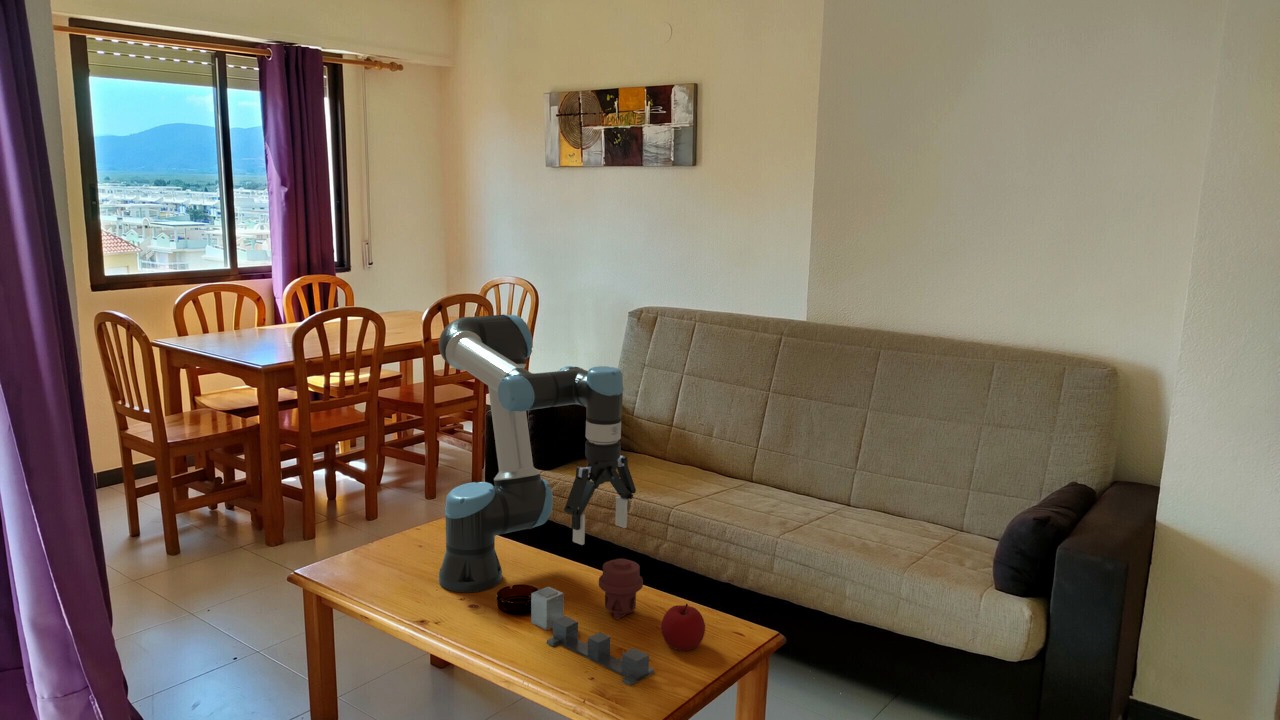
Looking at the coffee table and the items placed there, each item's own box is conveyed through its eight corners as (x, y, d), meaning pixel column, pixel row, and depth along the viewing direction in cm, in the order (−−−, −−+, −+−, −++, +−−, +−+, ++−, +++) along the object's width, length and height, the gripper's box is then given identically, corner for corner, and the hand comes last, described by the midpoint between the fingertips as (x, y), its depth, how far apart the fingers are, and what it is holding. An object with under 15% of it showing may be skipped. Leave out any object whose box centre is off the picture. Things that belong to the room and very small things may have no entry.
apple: (702, 636, 196) (704, 593, 194) (706, 657, 187) (708, 611, 185) (659, 635, 196) (661, 592, 194) (661, 656, 187) (663, 611, 185)
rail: (546, 643, 191) (546, 623, 190) (570, 632, 196) (571, 613, 195) (630, 686, 175) (630, 664, 174) (654, 672, 180) (654, 651, 179)
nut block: (531, 622, 200) (531, 591, 199) (548, 615, 204) (548, 585, 202) (546, 630, 197) (546, 599, 195) (563, 623, 200) (563, 592, 199)
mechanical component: (645, 606, 210) (637, 625, 200) (603, 601, 212) (593, 620, 202) (647, 555, 208) (638, 572, 198) (605, 551, 209) (594, 567, 200)
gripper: (575, 455, 180) (572, 555, 184) (653, 432, 199) (650, 524, 203) (548, 447, 185) (546, 545, 189) (628, 426, 204) (624, 515, 208)
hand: (600, 534), depth 196 cm, fingers open, 13 cm apart
